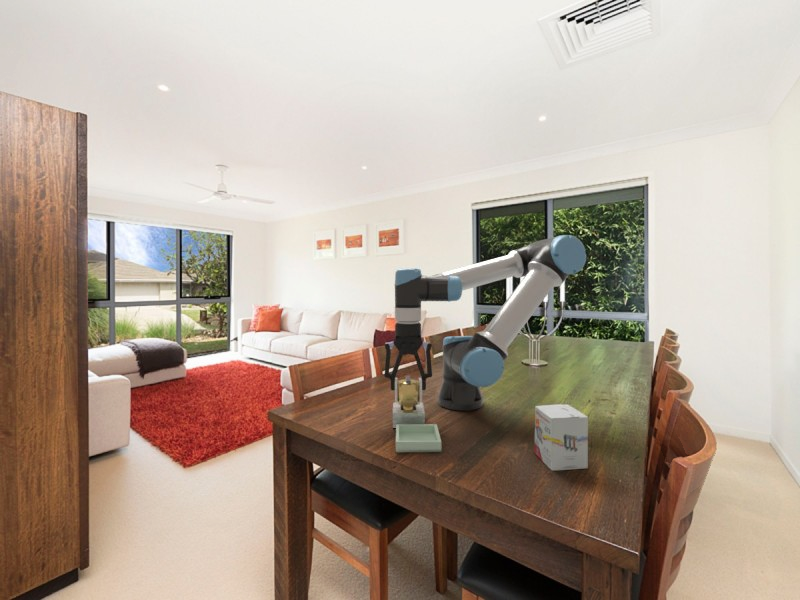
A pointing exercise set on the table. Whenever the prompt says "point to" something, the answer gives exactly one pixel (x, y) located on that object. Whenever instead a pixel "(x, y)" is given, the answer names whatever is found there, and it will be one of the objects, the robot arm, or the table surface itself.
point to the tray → (417, 438)
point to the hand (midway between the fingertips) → (408, 400)
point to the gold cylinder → (408, 393)
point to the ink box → (561, 437)
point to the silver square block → (408, 415)
